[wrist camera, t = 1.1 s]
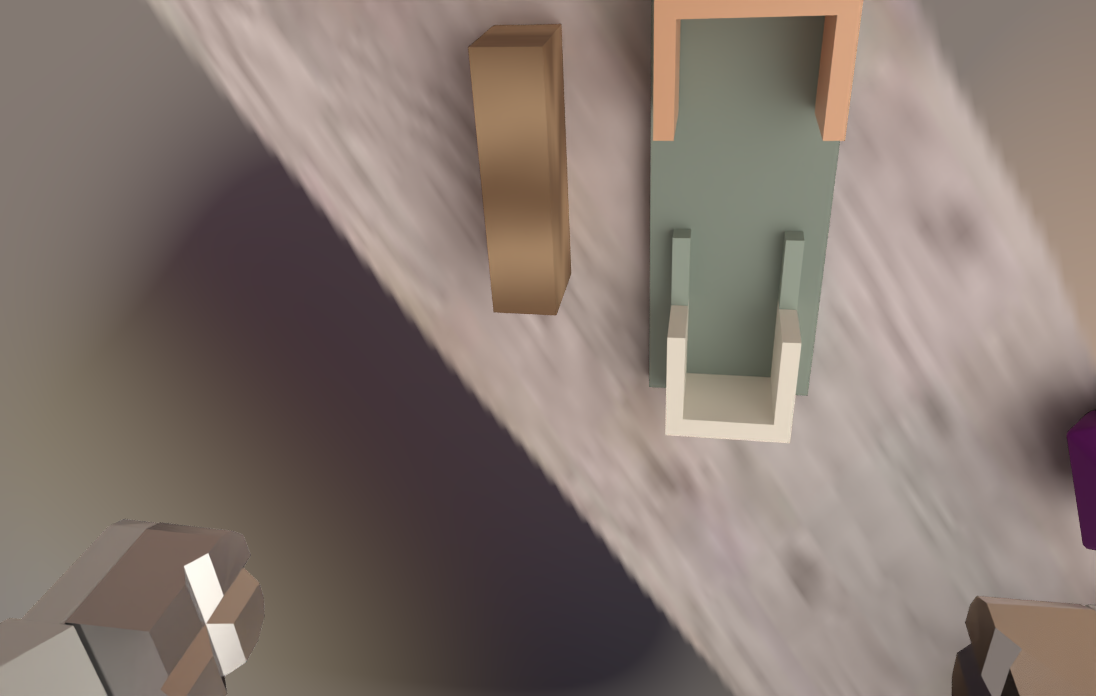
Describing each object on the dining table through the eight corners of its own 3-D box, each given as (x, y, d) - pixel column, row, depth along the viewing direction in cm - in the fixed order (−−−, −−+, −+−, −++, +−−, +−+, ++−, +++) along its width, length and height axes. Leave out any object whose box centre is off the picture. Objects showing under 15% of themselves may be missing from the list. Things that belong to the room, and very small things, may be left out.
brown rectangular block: (495, 24, 37) (467, 47, 33) (562, 23, 36) (542, 46, 32) (514, 269, 43) (493, 312, 39) (571, 271, 42) (556, 315, 39)
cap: (661, -26, 33) (654, -10, 30) (852, -33, 32) (865, -17, 29) (659, 113, 36) (653, 140, 33) (834, 112, 35) (844, 140, 31)
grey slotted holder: (653, -30, 34) (643, -10, 30) (859, -38, 33) (877, -17, 28) (650, 376, 45) (642, 433, 40) (806, 384, 43) (814, 444, 39)
